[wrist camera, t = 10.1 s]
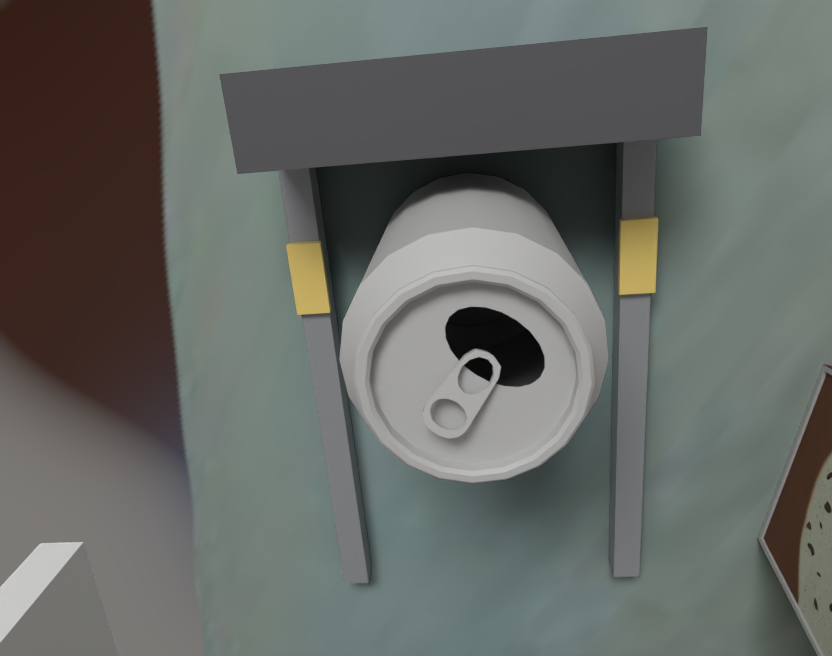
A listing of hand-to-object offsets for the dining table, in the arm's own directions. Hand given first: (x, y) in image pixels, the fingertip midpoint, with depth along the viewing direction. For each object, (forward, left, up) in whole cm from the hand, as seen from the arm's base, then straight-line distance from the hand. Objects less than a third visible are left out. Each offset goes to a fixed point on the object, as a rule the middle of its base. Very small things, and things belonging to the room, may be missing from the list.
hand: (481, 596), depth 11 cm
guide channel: (-4, 0, -19) cm, 19 cm away
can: (0, 0, -19) cm, 19 cm away
